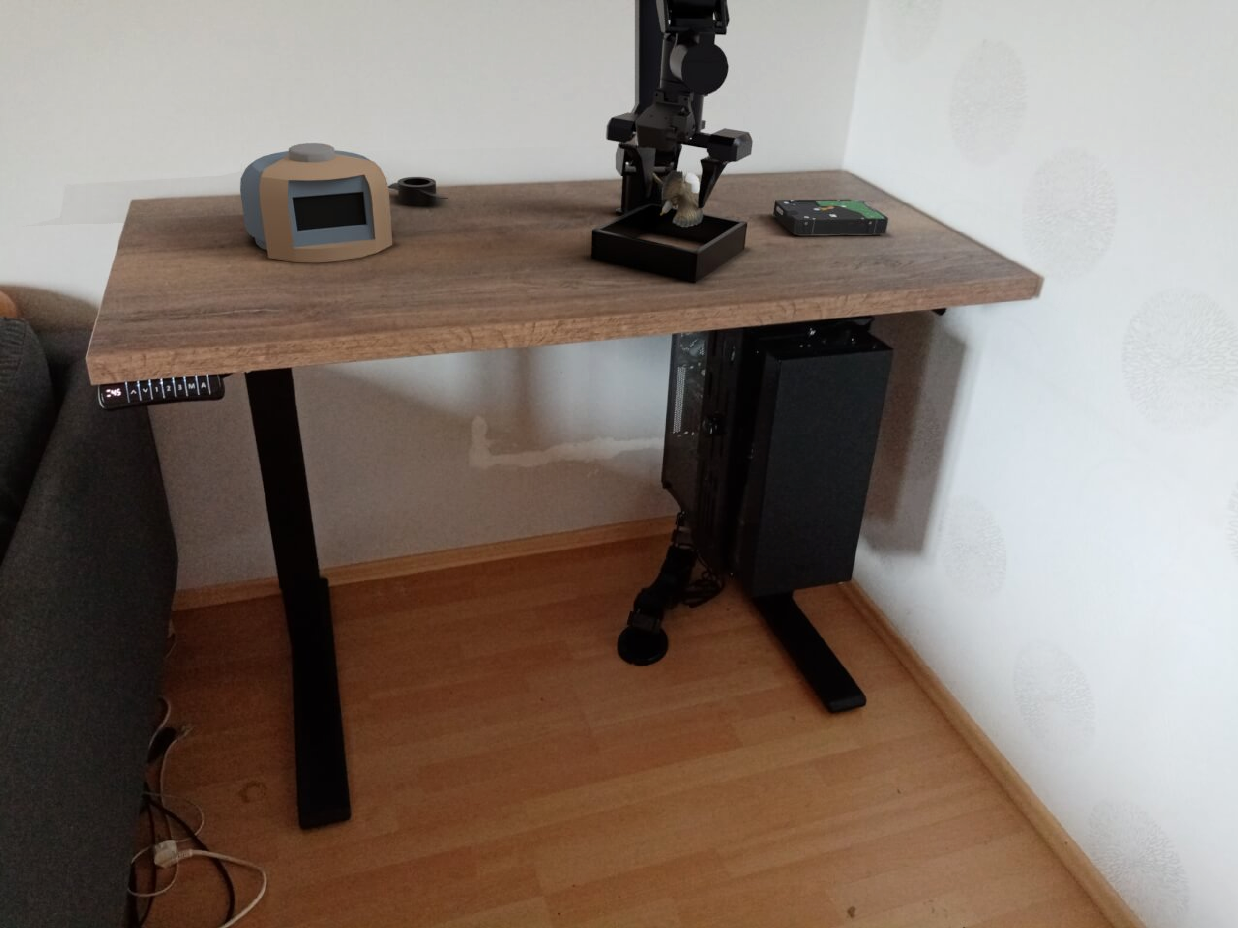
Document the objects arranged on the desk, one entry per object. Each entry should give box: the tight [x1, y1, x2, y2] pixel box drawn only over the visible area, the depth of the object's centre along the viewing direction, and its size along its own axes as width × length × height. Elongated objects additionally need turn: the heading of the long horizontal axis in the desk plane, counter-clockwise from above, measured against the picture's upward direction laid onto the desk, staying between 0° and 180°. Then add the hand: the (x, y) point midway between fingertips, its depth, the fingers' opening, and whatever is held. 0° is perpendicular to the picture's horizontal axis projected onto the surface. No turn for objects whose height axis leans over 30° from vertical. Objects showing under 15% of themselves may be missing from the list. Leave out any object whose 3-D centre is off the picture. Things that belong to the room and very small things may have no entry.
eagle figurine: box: [653, 170, 704, 227], centre depth 131 cm, size 8×7×9 cm
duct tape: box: [388, 176, 449, 207], centre depth 150 cm, size 8×10×3 cm
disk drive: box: [772, 199, 889, 236], centre depth 150 cm, size 10×3×15 cm
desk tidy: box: [590, 202, 748, 284], centre depth 134 cm, size 16×17×4 cm
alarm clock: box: [239, 142, 393, 263], centre depth 131 cm, size 19×20×12 cm
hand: (673, 202), depth 131 cm, fingers closed on eagle figurine, 8 cm apart
